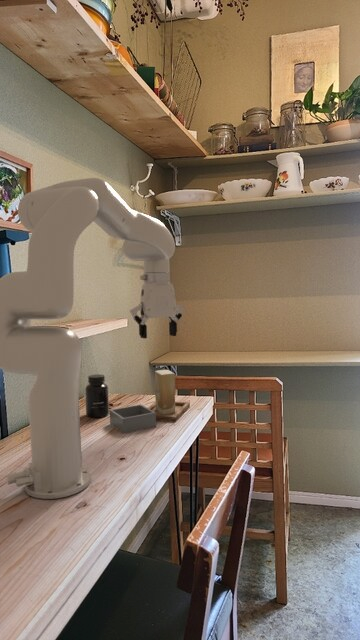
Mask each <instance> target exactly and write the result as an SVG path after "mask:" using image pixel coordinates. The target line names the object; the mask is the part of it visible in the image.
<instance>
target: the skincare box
mask: <svg viewBox="0 0 360 640" xmlns="http://www.w3.org/2000/svg"><path fill="white" fill-rule="evenodd" d="M175 375H176V373H174V372H172V371H171V370H168V369H160V370H154V379H155V380H154V389H155V391H154V392H155V393H154V394H155V395H154V397H155V398H154V399H155V402H156V410H157V411H158V412H160V413H161V414H162V415H164V414H171V413H175V402H176V376H175Z"/></svg>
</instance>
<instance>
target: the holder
mask: <svg viewBox="0 0 360 640" xmlns="http://www.w3.org/2000/svg"><path fill="white" fill-rule="evenodd" d="M140 414H141V415H140ZM109 421H110V422H109V424H110V425H111V426H112V425H113V426H112V427H114V429H116V428H117V429H116V430H117V431H118V432H120V431H121V432H120V433H122V434H129V433H133V432H138V431H142V430H143V431H144V430H148V429H153V428H156V427H157V421H156V413H155V412H154V411H152V410H150V409H148V407H146V406H144V405H143V404H135V405H129V406H125V407H119V408H118V407H117V408H113V409H109Z"/></svg>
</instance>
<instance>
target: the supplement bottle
mask: <svg viewBox="0 0 360 640" xmlns="http://www.w3.org/2000/svg"><path fill="white" fill-rule="evenodd" d="M87 378H88V381H87V383H88V384H87V385H86V386H85V388H84V389H85V390H84V391H85V396H84V397H85V415H86V416H87V417H88V418H92V419H93V418H94V419H98V418H105V417H107V416H108V415H109V414H110V406H109V401H110V400H109V386H108V385H107V384H106V383H105V381H106V379H105V378H106V377H105V374H90V375H89V376H88V377H87Z"/></svg>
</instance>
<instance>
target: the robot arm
mask: <svg viewBox="0 0 360 640" xmlns="http://www.w3.org/2000/svg"><path fill="white" fill-rule="evenodd" d="M17 216H18V218H19V222H20V223H21V224H22V227H24V228H25V229H26V230H27V231H30V232H31V234H30V237H29V240H28V241H29V242H28V250H27V268H26V271H13V272H9V273H7V274H4V275H3V276H1V277H0V369H1V370H2V371H3V372H6V373H10V374H16V375H17V374H18V375H21V374H22V375H29V376H31V375H32V376H36V380H35V382H34V384H33V386H32V388H31V390H30V393H29V396H28V401H27V402H28V418H29V430H30V431H29V434H30V435H29V436H30V451H31V453H30V454H31V462H28V464H27V465H28V467H27V468H23V471H18V472H12V473H7V474H6V482H7V483H6V484H7V485H12V484H15V486H16V487H22V486H24V490H25V492H26V494H27V495H29V496H31V497H33V498H35V499H36V498H37V499H42V500H43V499H44V500H54V499H60V498H65V497H70V496H72V495H75V494H77V493H79V492H81V491H83V490H85V488H87V487H88V486H89V485H90V483H91V480H92V479H91V473H90V471H88V469H86V468H84V467H83V459H82V457H83V456H82V436H81V434H82V433H81V416H80V397H79V394H80V392H79V382H80V381H79V379H80V368H81V363H82V355H83V349H82V348H83V346H82V342H81V340H80V337H79V336H78V335H77V334H76V333H75V332H74V331H72V330H70V329H68V328H66V327H60V326H48V325H47V326H44V325H43V326H40V325H38V326H37V325H36V326H31V323H32V320H43V321H44V320H59V319H63V318H66V317H67V316H69V314H70V313H71V312H72V309H73V306H74V293H75V291H74V286H75V285H74V284H75V283H74V276H75V275H74V273H75V272H74V257H75V255H74V254H75V248H76V244H77V241H78V240H79V238H80V235H82V233H83V232H84V231H85V229H86V228H87V227H89V226H90V225H91V224H92V223H95V224H96V225H97V226H98V227H99V228H101V230H102V231H104V233H106V234H107V235H108V236H110V237H111V238H113V239H118V240H122V241H123V244H122V250H123V253H124V255H125V256H126V258H127V259H129V260H131V261H133V262H143V274H142V275H140V277H139V279H140V280H141V281H143V283H142V286H141V289H140V299H139V300H140V304H138V305H136V306H135V307H132V308H131V309H130V310H129V313H130V315H131V316H132V319H133V320H134V321H135V322H136V323H137V325H138V331H139V332H138V333H139V336H140V338H141V339H147V338H148V331H147V330H148V326H147V324H146V322H147V321H148V320H149V319H158V318H159V319H161V318H168V319H169V323H168V325H169V327H168V328H169V329H168V330H169V333H168V334H169V336H170V337H171V336H172V337H177V333H178V325H177V324H178V322H179V321H180V319H181V318H182V316H183V313H184V311H185V307H183V306H182V305H180V304H178V303H177V302H176V292H175V287H174V284H173V283H171V279H170V278H171V277H170V276H171V274H170V271H171V270H170V259H171V258H172V257H173V255H174V253H175V250H176V242H175V239H174V237H173V234H172V233H171V232H170V230H169V229H168V228H167V227H166V226H165V224H164V223H163V222H161V221H160V220H159V219H157V218H155V217H152V216H150V215H147V214H145V213H143V212H140V211H137V210H135V209H132V208H131V207H130V206H129V205H128V204H127V203H126V201H124V199H123V198H121V196H120V195H119V193H117V192H116V191H115V190H114V188H113V187H112V186H111V185H110V184H109V183H108V182H107V181H106V180H104V179H101V178H97V177H91V178H84V179H83V178H82V179H74V180H68V181H67V180H66V181H61V182H59V183H54V184H52V185H48V186H46V187H42V188H39V189H36V190H32V191H29V192H27V193H26V194H24V195H23V196H22V197H21V199H20V201H19V202H18V205H17ZM138 312H140V316H139V315H138Z"/></svg>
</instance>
